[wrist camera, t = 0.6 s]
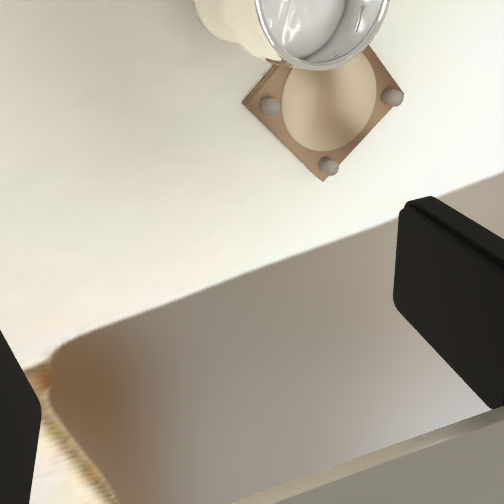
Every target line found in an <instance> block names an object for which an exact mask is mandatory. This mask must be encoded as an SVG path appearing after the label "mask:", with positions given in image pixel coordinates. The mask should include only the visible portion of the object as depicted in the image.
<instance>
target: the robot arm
mask: <svg viewBox="0 0 504 504" xmlns="http://www.w3.org/2000/svg"><path fill="white" fill-rule="evenodd" d="M393 300H394V304H395V306H396V308H397V310H398V311H399V312H400V313H401V314H402V315H403V316H404V317H405V319H406V320H407V321H408V322H409V323H410V324H411V325H412V326H413V327H414V328H415V329H416V330H417V331H418V332H419V333H420V334H421V336H422V337H423V338H424V339H425V340H426V341H427V342H428V343H429V344H430V345H431V346H432V347H433V348H434V349H435V351H436V352H437V353H438V354H439V355H440V356H441V357H442V358H443V359H444V360H445V361H446V362H447V363H448V364H449V365H450V367H451V368H452V369H453V370H454V371H455V372H456V373H457V374H458V375H459V376H460V377H461V378H462V379H463V380H464V381H465V382H466V384H468V386H469V387H470V388H471V389H472V390H473V391H474V392H475V393H476V394H477V395H478V396H479V397H480V398H481V399H482V401H483V402H484V403H485V404H486V405H487V406H488V407H489V408H491V409H493V410H490V411H488V412H485V413H482V414H479V415H477V416H473V417H471V418H468V419H465V420H462V421H459V422H457V423H454V424H451V425H448V426H446V427H442V428H439V429H437V430H434V431H431V432H429V433H425V434H423V435H420V436H417V437H414V438H411V439H408V440H405V441H403V442H400V443H397V444H394V445H391V446H389V447H386V448H383V449H380V450H378V451H375V452H372V453H369V454H367V455H364V456H361V457H358V458H355V459H352V460H350V461H347V462H344V463H341V464H338V465H336V466H333V467H330V468H328V469H325V470H322V471H319V472H316V473H313V474H311V475H308V476H305V477H302V478H300V479H297V480H294V481H291V482H288V483H286V484H283V485H280V486H277V487H275V488H272V489H269V490H266V491H263V492H261V493H258V494H255V495H252V496H250V497H247V498H244V499H241V500H239V501H236V502H233V503H230V504H504V239H502V238H501V237H499V236H497V235H496V234H494V233H492V232H491V231H489V230H488V229H486V228H484V227H482V226H481V225H479V224H478V223H476V222H474V221H473V220H471V219H469V218H468V217H466V216H464V215H463V214H461V213H460V212H458V211H456V210H455V209H453V208H451V207H450V206H448V205H446V204H445V203H443V202H441V201H440V200H438V199H437V198H435V197H432V196H428V197H424V198H419V199H415V200H411V201H408V202H407V203H406V204H405V206H404V209H402V210H401V211H400V213H399V222H398V234H397V249H396V262H395V276H394V289H393ZM41 415H42V413H41V406H40V402H39V400H38V398H37V396H36V394H35V392H34V390H33V389H32V387H31V385H30V383H29V381H28V380H27V378H26V376H25V374H24V372H23V370H22V369H21V367H20V365H19V363H18V361H17V360H16V358H15V356H14V354H13V352H12V351H11V349H10V347H9V345H8V343H7V341H6V340H5V338H4V336H3V334H2V332H1V331H0V504H29V500H30V493H31V486H32V479H33V472H34V465H35V458H36V451H37V444H38V437H39V430H40V423H41Z"/></svg>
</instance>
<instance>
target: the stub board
mask: <svg viewBox="0 0 504 504" xmlns="http://www.w3.org/2000/svg"><path fill="white" fill-rule="evenodd" d="M403 95H404V93H403V92H402V90H401V89H400V88H399V86H398V85H397V83H396V82H395V81H394V79H393V78H392V77H391V75H390V74H389V72H388V71H387V70H386V68H385V67H384V65H383V64H382V63H381V61H380V60H379V58H378V57H377V56H376V54H375V53H374V52H373V50H372V49H371V47H370V46H369V45H368V46H367V47H366V48H365V49H364V50H363V51H362V52H361V53H360V54H359V55H358V56H356V57H355V58H354V59H352V60H351V61H349V62H347V63H346V64H344V65H342V66H339V67H337V68H334V69H330V70H324V71H311V70H305V69H299V68H289V67H283V66H279V65H274V66H273V67H272V68H271V70H270V71H269V72H268V73H267V74H266V75H265V77H264V78H263V79H262V80H261V81H260V82H259V84H258V85H257V86H256V87H255V88H254V90H253V91H252V92H251V93H250V94H249V95H248V97H247V98H246V99H245V100H244V101H243V102H242V103H243V104H244V105H245V106H246V107H247V108H248V109H249V110H250V111H251V112H252V113H253V114H254V115H255V116H256V117H257V118H258V119H259V120H260V121H261V122H262V123H263V124H264V125H265V126H266V127H267V128H268V129H269V130H270V131H271V132H272V133H273V134H274V135H275V136H276V137H277V138H278V139H279V140H280V141H281V142H282V143H283V144H284V145H285V146H286V147H287V148H288V149H289V150H290V151H291V152H292V153H293V154H294V155H295V156H296V157H297V158H298V159H299V160H300V161H301V162H302V163H303V164H304V165H305V166H306V167H307V168H308V169H309V170H310V171H311V172H313V173H314V174H315V175H316V176H317V177H318V178H319V179H320V180H321V181H323V182H324V181H325V179H326V178H327V177H328V176H329V175H330V176H332V175H335V174H336V173H337V171H338V169H339V166H338V165H339V164H340V163H341V162H342V161H343V160H344V159H345V158H346V157H347V156H348V155H349V154H350V152H351V151H352V150H353V149H354V148H355V147H356V146H357V145H358V144H359V143H360V142H361V141H362V140H363V138H364V137H365V136H366V135H367V134H368V133H369V132H370V131H371V130H372V129H373V128H374V127H375V126H376V124H377V123H378V122H379V121H380V120H381V119H382V118H383V117H384V116H385V115H386V114H387V113H388V111H389V110H390V109H391V108H392V107H393V106H399V105H400V104H401V103H402V101H403Z"/></svg>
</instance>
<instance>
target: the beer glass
mask: <svg viewBox="0 0 504 504" xmlns="http://www.w3.org/2000/svg"><path fill="white" fill-rule="evenodd" d="M389 2H390V0H194V3H195V7H196V11H197V13H198V16H199V18H200V20H201V21H202V23H203V25H204V26H205V27H206V28H207V30H208V31H209V32H210V33H212V34H213V35H214V36H216V37H217V38H219V39H221V40H224V41H227V42H232V43H238V44H239V45H240V46H241V47H242V48H243V49H245V50H246V51H247V52H248V53H250V54H251V55H253V56H255V57H257V58H259V59H261V60H264V61H266V62H268V63H271V64H275V65H279V66H283V67H289V68H299V69H305V70H311V71H324V70H330V69H334V68H337V67H339V66H342V65H344V64H346V63H347V62H349V61H351V60H352V59H354V58H355V57H356V56H358V55H359V54H360V53H361V52H362V51H363V50H364V49H365V48H366V47H367V46H368V45H369V43H370V42H371V41H372V40H373V38H374V37H375V35H376V34H377V32H378V30H379V28H380V26H381V24H382V22H383V20H384V18H385V15H386V12H387V9H388V6H389Z"/></svg>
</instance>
